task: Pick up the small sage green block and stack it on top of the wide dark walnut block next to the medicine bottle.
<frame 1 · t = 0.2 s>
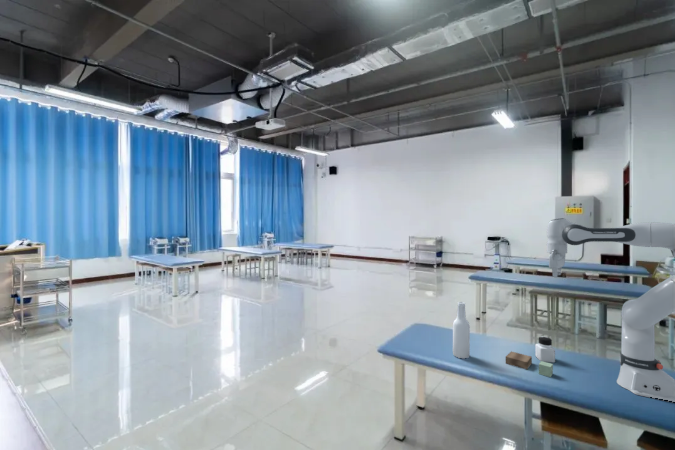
hand: (556, 276, 166), 47 cm above the table, tool pointing down, fingers open, 8 cm apart
alcohol: (461, 356, 178), on the table
medicine bottle: (545, 359, 175), on the table
sage green block: (545, 374, 157), on the table
walnut block: (518, 364, 169), on the table
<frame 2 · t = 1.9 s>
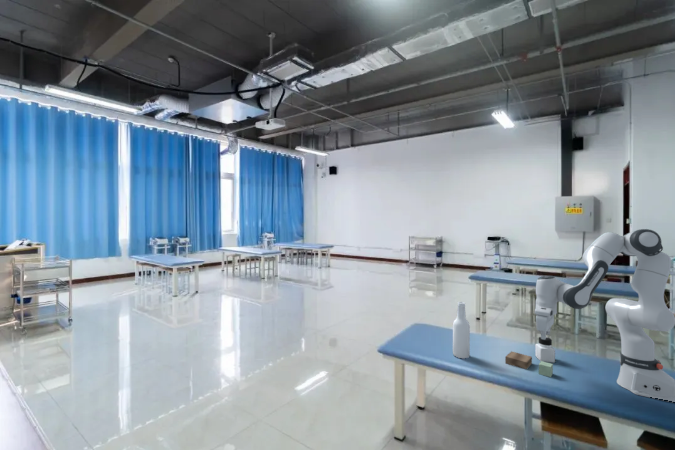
hand: (545, 336, 157), 18 cm above the table, tool pointing down, fingers open, 8 cm apart
nothing on the table moved.
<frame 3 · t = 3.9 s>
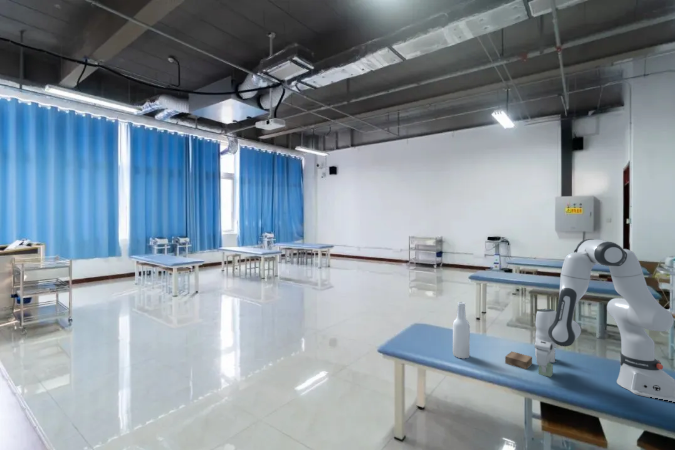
hand: (545, 369, 157), 2 cm above the table, tool pointing down, fingers closed on sage green block, 5 cm apart
sage green block: (545, 373, 157), on the table, touching gripper
everything else where it was.
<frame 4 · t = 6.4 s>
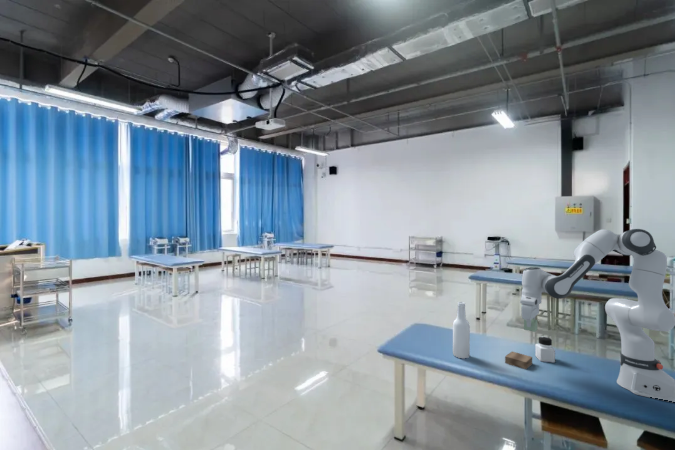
hand: (530, 325, 164), 22 cm above the table, tool pointing down, fingers closed on sage green block, 5 cm apart
sage green block: (530, 329, 164), point 20 cm above the table, touching gripper
everything else where it was.
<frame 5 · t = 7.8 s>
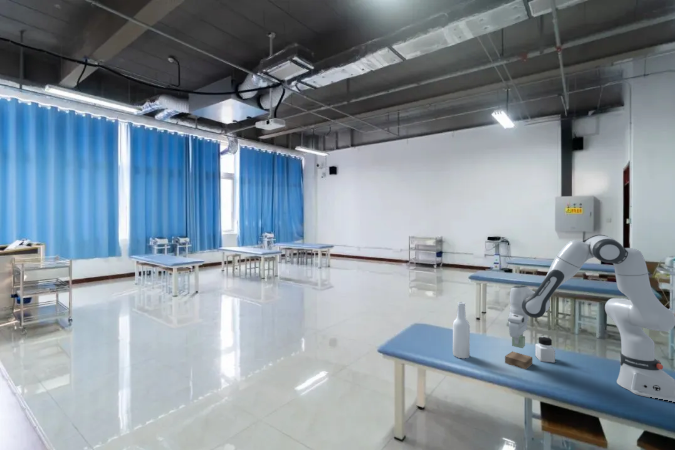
hand: (518, 341, 169), 12 cm above the table, tool pointing down, fingers closed on sage green block, 5 cm apart
sage green block: (518, 345, 169), point 9 cm above the table, touching gripper
everything else where it was.
when the fingers open (8 cm above the table, at t = 9.1 s): sage green block drops 2 cm, point 4 cm above the table.
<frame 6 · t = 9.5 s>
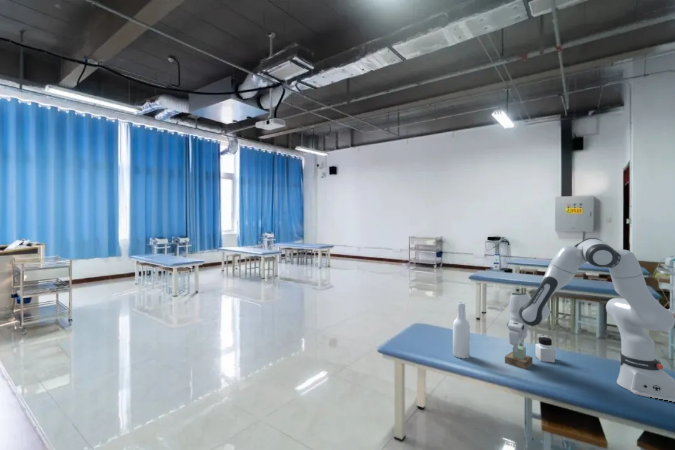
hand: (518, 349, 169), 8 cm above the table, tool pointing down, fingers open, 8 cm apart
sage green block: (519, 356, 169), point 4 cm above the table
everything else where it was.
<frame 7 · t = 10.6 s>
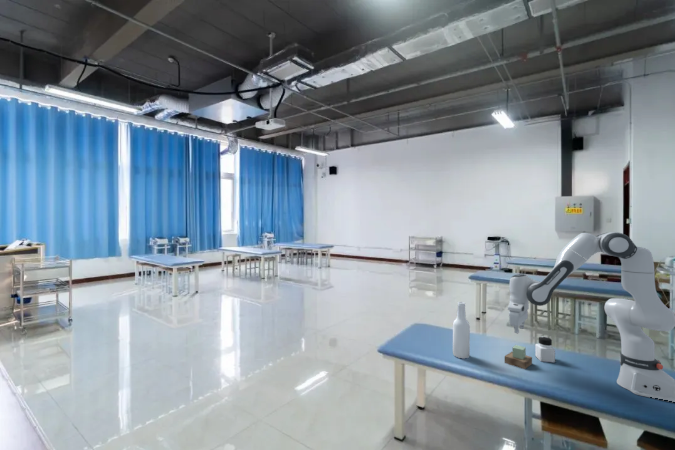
hand: (519, 330, 169), 17 cm above the table, tool pointing down, fingers open, 8 cm apart
nothing on the table moved.
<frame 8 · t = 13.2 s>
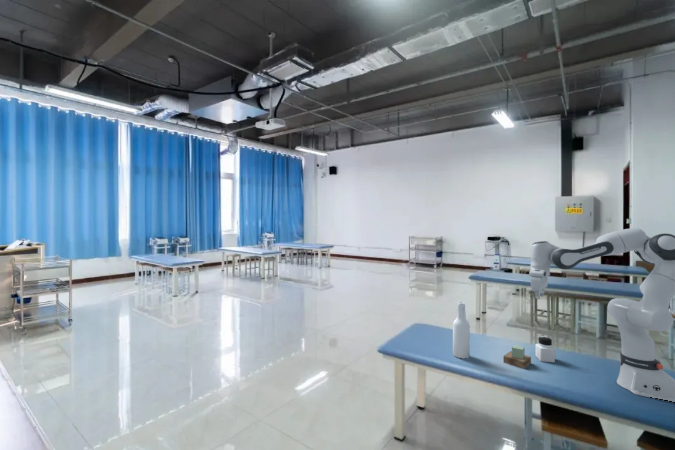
hand: (539, 297, 170), 35 cm above the table, tool pointing down, fingers open, 8 cm apart
nothing on the table moved.
at the end: sage green block 0.5 cm off-centre on the walnut block, point 4.0 cm above the walnut block's base; sage green block tilted 0°; the gripper is holding nothing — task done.
